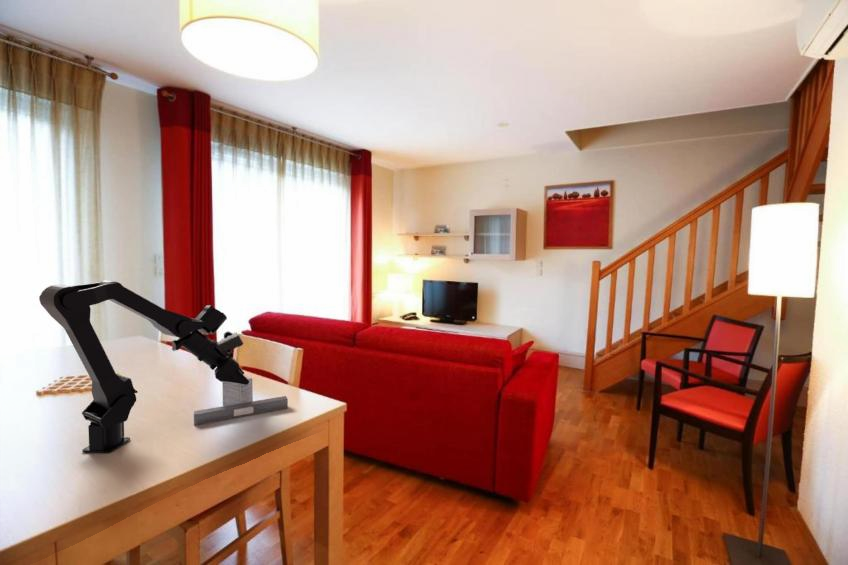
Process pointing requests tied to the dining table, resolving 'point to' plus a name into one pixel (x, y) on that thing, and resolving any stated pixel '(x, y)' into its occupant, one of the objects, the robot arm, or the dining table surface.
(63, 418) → the dining table surface
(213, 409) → the rail
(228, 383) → the medicine box
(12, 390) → the dining table surface
